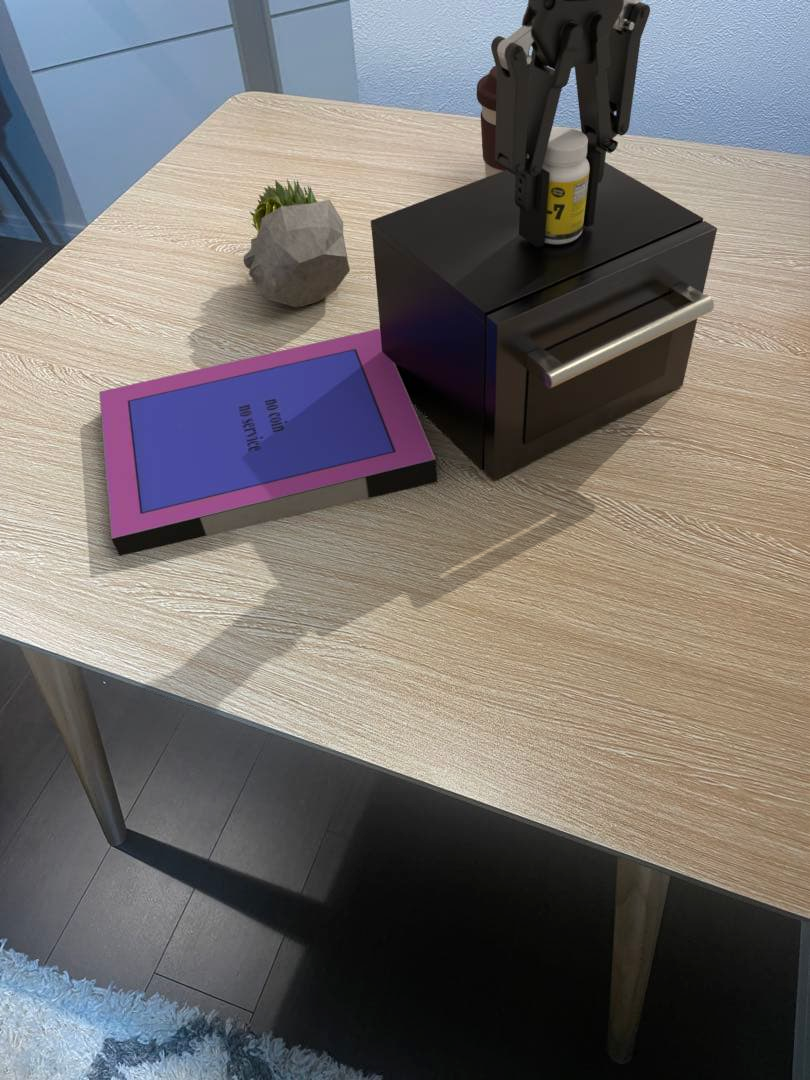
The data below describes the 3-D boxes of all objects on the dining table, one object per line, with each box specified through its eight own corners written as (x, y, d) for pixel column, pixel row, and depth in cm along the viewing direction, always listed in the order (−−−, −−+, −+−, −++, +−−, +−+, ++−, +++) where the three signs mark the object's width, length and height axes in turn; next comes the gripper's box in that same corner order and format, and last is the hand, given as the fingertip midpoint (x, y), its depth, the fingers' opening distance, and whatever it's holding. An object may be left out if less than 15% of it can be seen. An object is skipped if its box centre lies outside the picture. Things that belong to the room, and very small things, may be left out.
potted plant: (244, 311, 101) (194, 220, 107) (324, 334, 111) (274, 249, 117) (309, 228, 95) (252, 136, 101) (387, 260, 105) (331, 175, 111)
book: (99, 391, 94) (379, 328, 98) (108, 413, 97) (382, 350, 100) (111, 538, 81) (435, 459, 84) (121, 559, 83) (437, 481, 87)
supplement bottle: (517, 234, 81) (522, 141, 75) (548, 212, 83) (555, 119, 77) (563, 252, 79) (571, 157, 73) (593, 228, 81) (604, 134, 75)
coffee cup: (535, 211, 118) (542, 92, 107) (464, 198, 121) (464, 81, 110) (560, 176, 124) (569, 59, 113) (492, 164, 127) (494, 50, 116)
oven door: (709, 405, 92) (750, 246, 78) (518, 505, 84) (527, 347, 71) (671, 377, 95) (704, 220, 82) (483, 472, 87) (485, 315, 74)
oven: (670, 377, 95) (703, 218, 82) (482, 471, 87) (484, 312, 74) (560, 297, 105) (574, 144, 92) (383, 375, 98) (370, 220, 84)
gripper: (641, -115, 68) (605, 182, 86) (444, -63, 63) (449, 244, 80) (714, -93, 64) (661, 214, 82) (509, -35, 58) (500, 283, 76)
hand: (556, 228), depth 81 cm, fingers closed on supplement bottle, 5 cm apart
